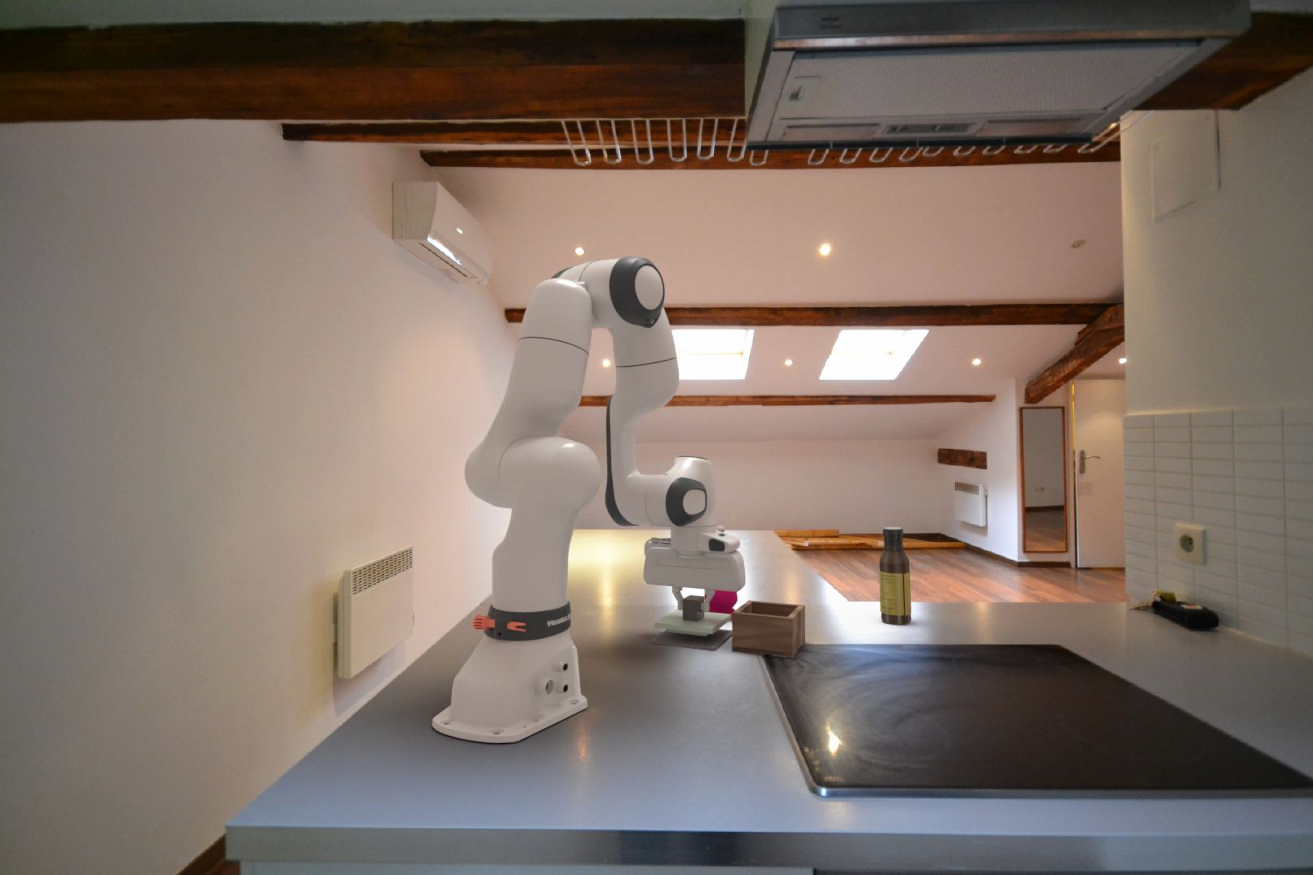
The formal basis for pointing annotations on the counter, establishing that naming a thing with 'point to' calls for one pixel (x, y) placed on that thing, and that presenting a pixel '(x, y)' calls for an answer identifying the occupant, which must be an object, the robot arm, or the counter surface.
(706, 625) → the lid
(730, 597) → the pepper mill
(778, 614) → the box
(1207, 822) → the counter surface
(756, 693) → the counter surface
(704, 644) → the mat
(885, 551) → the sauce bottle
